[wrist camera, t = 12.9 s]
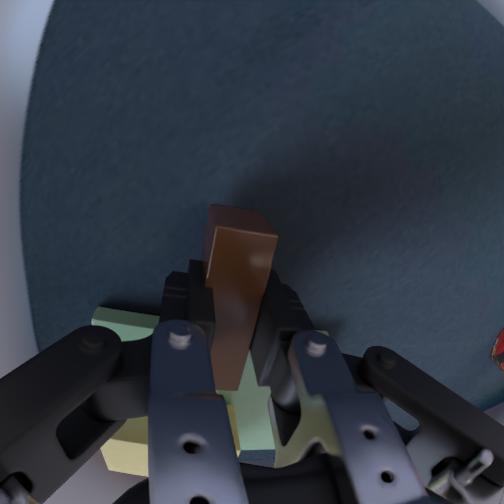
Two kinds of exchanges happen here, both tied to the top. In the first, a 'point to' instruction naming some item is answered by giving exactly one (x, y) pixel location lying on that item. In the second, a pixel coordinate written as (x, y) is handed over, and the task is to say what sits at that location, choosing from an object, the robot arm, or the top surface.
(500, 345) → the deodorant
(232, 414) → the butter slice
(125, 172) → the top surface
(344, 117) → the top surface
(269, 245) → the butter knife
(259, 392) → the butter dish
